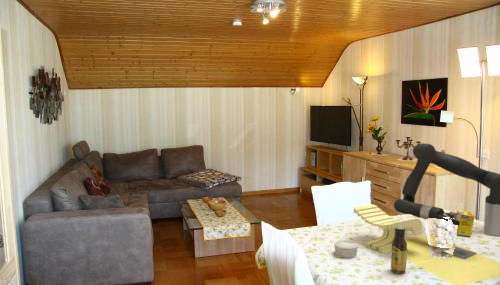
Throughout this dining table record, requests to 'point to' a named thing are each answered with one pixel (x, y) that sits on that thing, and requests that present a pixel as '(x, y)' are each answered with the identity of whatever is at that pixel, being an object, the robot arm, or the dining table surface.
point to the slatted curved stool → (385, 226)
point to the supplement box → (465, 223)
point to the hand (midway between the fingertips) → (463, 221)
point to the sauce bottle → (399, 251)
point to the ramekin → (346, 249)
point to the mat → (462, 253)
